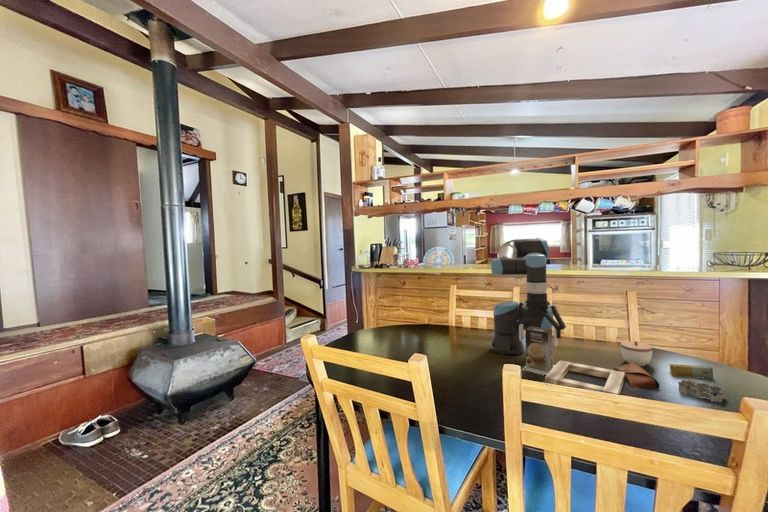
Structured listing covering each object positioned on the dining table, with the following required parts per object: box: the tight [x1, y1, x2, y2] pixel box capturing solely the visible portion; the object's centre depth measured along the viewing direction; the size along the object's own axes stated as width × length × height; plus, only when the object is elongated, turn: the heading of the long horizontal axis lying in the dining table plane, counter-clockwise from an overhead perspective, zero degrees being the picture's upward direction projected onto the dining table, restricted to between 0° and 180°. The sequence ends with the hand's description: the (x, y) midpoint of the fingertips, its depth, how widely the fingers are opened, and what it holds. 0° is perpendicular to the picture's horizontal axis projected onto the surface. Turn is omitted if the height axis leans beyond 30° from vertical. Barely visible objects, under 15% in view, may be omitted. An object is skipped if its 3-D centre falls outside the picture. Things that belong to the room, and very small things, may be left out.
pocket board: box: [544, 360, 626, 395], centre depth 120 cm, size 22×21×2 cm
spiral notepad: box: [521, 364, 556, 376], centre depth 134 cm, size 10×12×1 cm
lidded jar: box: [619, 340, 654, 367], centre depth 134 cm, size 11×11×9 cm
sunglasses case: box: [613, 361, 661, 390], centre depth 121 cm, size 18×7×7 cm, turn 164°
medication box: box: [669, 363, 714, 379], centre depth 120 cm, size 12×3×4 cm, turn 71°
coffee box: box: [525, 326, 554, 372], centre depth 133 cm, size 9×6×16 cm
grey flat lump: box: [677, 378, 725, 403], centre depth 106 cm, size 11×8×4 cm
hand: (538, 342), depth 134 cm, fingers open, 13 cm apart
